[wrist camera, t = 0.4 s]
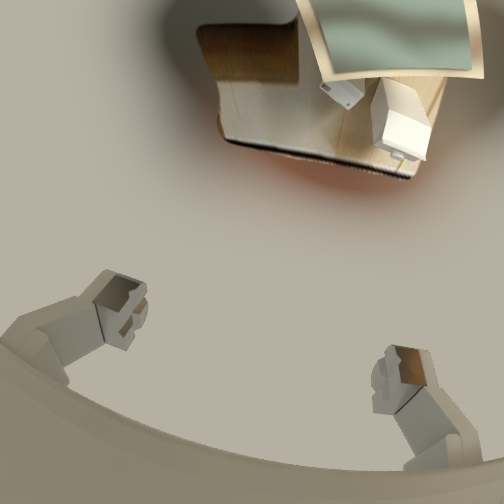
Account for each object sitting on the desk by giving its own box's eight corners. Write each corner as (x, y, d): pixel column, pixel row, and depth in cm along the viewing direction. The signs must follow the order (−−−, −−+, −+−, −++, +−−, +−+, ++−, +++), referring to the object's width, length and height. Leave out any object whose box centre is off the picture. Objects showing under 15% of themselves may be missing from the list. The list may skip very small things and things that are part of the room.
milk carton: (381, 75, 43) (391, 122, 33) (415, 89, 43) (436, 142, 33) (369, 105, 49) (373, 161, 39) (402, 118, 49) (415, 177, 39)
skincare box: (365, 70, 44) (368, 95, 37) (350, 85, 47) (349, 112, 41) (339, 49, 42) (336, 69, 36) (324, 65, 46) (318, 88, 39)
